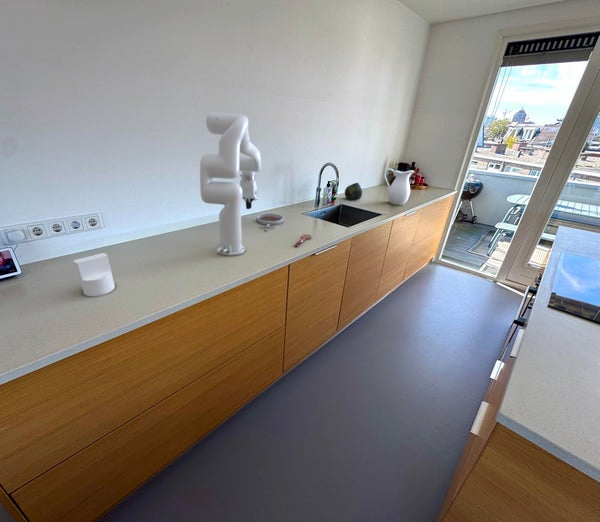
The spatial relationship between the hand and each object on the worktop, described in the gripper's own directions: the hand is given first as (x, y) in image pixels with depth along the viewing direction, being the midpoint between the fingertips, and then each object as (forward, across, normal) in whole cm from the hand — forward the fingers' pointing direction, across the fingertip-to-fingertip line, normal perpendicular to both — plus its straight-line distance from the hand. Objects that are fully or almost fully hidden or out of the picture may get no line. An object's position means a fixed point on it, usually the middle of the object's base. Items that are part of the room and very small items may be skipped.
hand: (248, 208), depth 175 cm
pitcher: (+8, +77, +108) cm, 133 cm away
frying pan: (+7, +14, 0) cm, 16 cm away
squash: (+8, +44, +98) cm, 107 cm away
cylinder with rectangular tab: (+6, -3, -94) cm, 95 cm away
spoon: (+7, +42, -16) cm, 46 cm away
